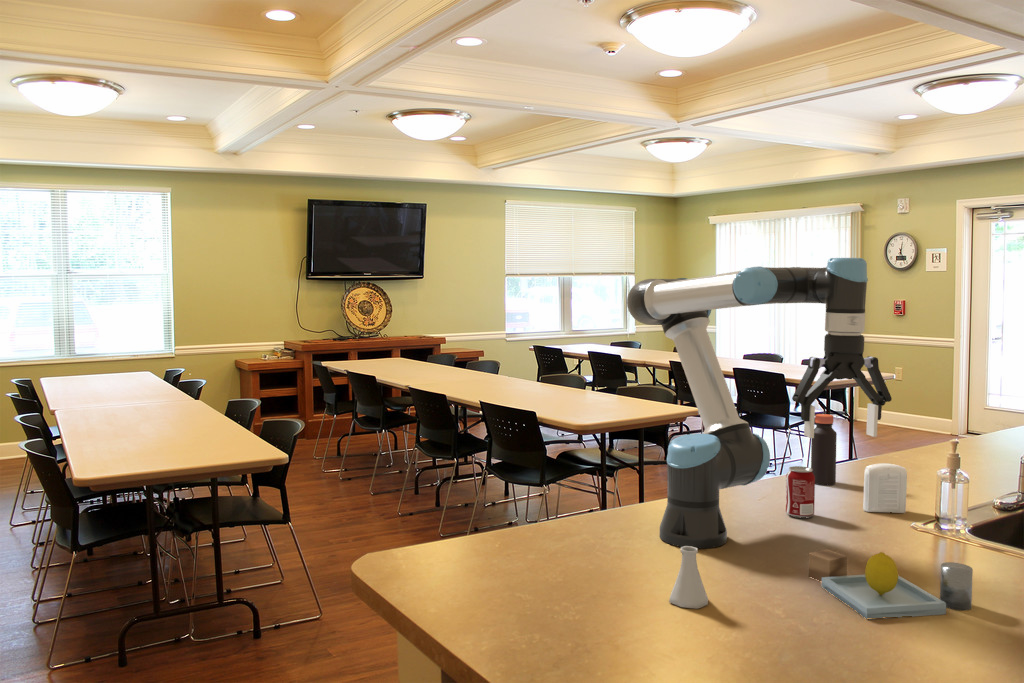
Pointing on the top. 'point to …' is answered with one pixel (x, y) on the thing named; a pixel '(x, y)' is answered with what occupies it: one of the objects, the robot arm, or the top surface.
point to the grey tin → (956, 585)
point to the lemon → (881, 573)
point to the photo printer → (885, 488)
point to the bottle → (824, 450)
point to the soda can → (800, 492)
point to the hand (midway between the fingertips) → (840, 436)
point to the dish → (883, 598)
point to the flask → (689, 582)
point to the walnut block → (827, 564)
